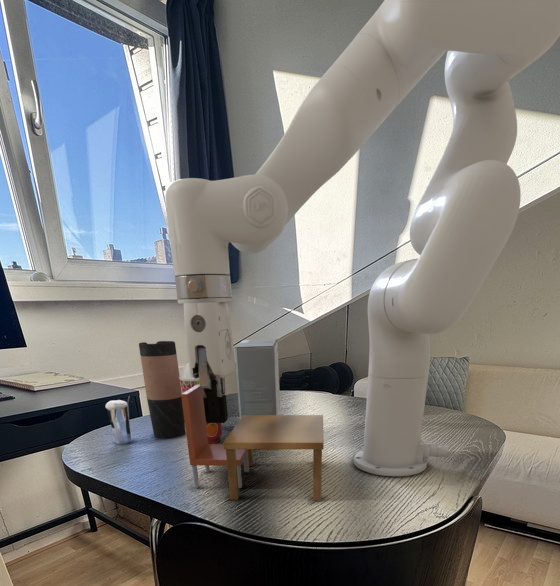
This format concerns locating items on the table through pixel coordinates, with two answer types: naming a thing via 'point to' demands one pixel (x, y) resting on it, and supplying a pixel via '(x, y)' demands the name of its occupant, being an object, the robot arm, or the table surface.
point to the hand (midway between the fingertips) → (217, 421)
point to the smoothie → (212, 428)
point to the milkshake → (119, 420)
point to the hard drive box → (258, 377)
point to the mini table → (275, 442)
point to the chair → (205, 438)
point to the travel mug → (163, 388)
